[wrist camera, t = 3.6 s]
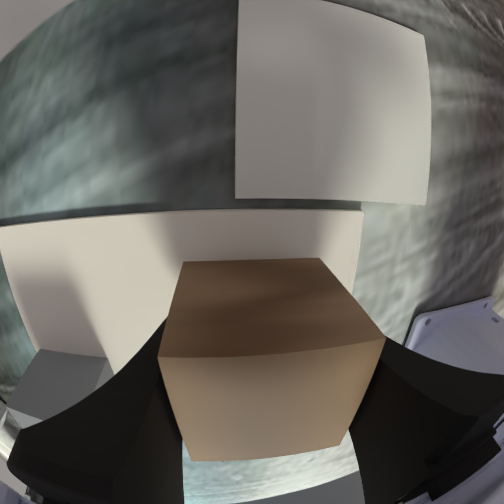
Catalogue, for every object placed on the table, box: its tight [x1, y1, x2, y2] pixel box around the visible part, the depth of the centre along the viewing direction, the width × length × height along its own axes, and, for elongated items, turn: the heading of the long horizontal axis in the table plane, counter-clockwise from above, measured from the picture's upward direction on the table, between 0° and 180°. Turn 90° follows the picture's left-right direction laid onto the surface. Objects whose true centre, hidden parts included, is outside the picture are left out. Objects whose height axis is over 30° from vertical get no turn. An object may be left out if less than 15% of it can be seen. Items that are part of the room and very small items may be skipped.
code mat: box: [0, 209, 364, 375], centre depth 12 cm, size 18×12×1 cm, turn 89°
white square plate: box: [235, 0, 431, 206], centre depth 9 cm, size 9×9×1 cm
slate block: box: [6, 349, 114, 429], centre depth 11 cm, size 5×5×5 cm
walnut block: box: [157, 258, 386, 461], centre depth 8 cm, size 5×5×5 cm
